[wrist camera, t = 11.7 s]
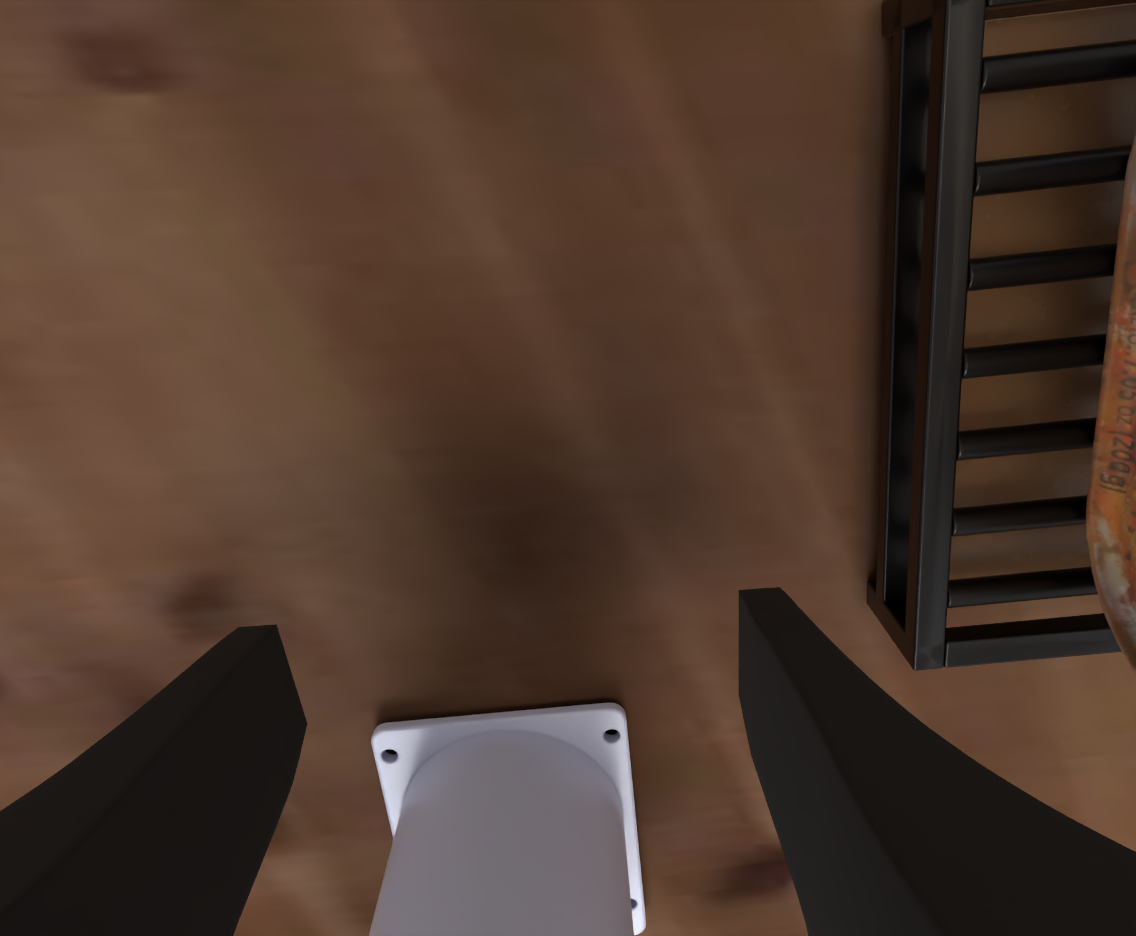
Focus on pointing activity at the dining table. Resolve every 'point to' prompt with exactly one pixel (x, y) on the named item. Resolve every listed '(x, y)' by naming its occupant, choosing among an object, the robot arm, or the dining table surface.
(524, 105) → the dining table surface
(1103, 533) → the tin
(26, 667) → the dining table surface
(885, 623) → the rack
